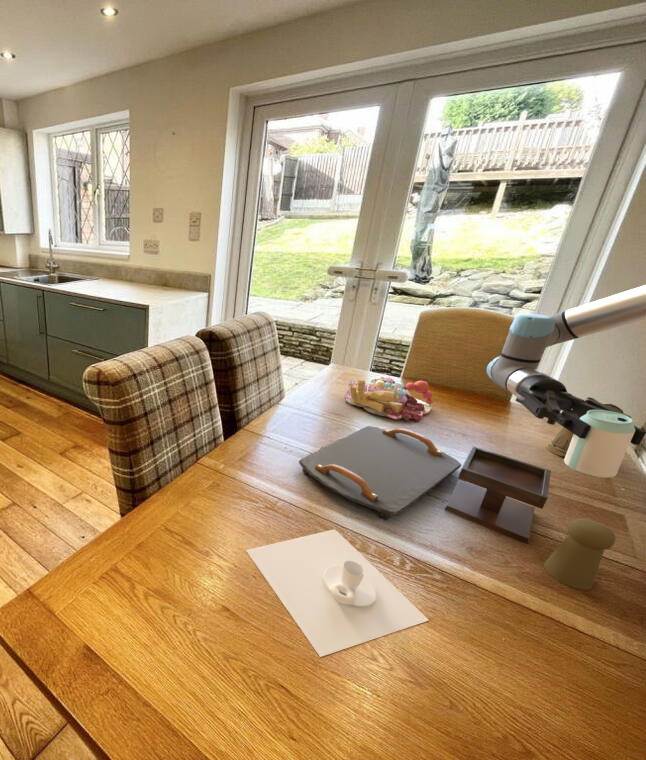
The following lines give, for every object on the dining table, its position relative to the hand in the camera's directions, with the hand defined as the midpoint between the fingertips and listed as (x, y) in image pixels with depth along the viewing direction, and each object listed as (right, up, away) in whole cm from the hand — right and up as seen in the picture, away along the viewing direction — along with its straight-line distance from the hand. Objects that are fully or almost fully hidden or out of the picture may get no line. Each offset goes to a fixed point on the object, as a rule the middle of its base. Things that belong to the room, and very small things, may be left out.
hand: (612, 435), depth 73 cm
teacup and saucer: (-56, -24, -7) cm, 62 cm away
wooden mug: (+25, -10, +30) cm, 40 cm away
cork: (-14, -24, -5) cm, 28 cm away
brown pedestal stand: (-14, -18, +10) cm, 25 cm away
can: (+1, -8, +5) cm, 9 cm away
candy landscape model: (-6, +2, +59) cm, 59 cm away
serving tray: (-30, -12, +23) cm, 40 cm away
